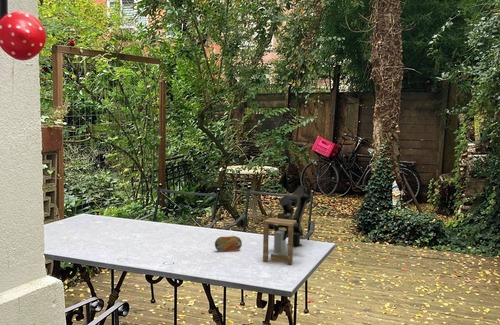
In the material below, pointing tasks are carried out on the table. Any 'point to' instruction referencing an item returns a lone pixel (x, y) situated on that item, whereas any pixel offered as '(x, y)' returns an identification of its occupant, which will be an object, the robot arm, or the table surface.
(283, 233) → the slab
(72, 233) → the table surface
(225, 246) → the tin
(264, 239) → the wooden frame
